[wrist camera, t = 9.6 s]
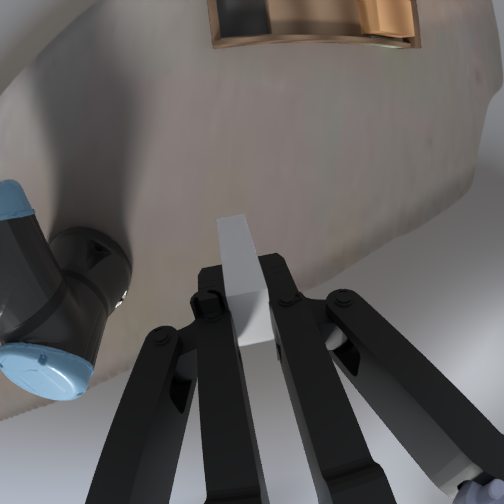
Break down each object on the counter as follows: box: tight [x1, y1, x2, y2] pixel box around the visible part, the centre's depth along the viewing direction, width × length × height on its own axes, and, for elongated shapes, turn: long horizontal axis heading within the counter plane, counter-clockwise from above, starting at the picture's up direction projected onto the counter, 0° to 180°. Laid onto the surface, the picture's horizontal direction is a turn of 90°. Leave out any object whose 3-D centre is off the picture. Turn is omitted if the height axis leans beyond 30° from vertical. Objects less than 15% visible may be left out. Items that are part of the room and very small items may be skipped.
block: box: [357, 0, 415, 38], centre depth 27 cm, size 5×5×5 cm
